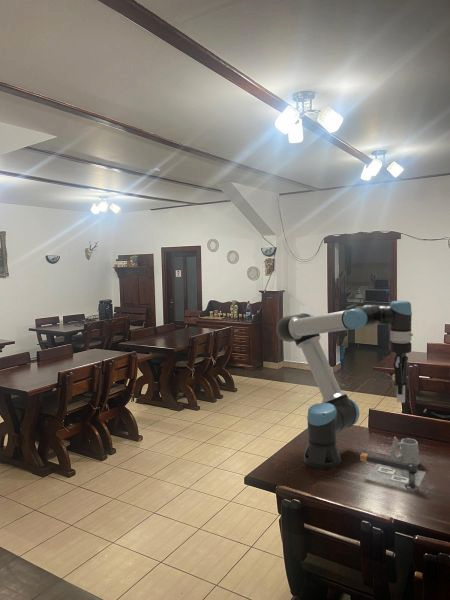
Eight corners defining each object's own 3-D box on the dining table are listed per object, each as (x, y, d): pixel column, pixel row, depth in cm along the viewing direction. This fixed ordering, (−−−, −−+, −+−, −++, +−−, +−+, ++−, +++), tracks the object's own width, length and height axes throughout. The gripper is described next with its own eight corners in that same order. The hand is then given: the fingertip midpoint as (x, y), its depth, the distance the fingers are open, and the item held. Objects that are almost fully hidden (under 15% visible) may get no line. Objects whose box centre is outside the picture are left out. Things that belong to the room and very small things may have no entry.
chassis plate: (366, 480, 172) (366, 478, 172) (378, 463, 186) (378, 461, 186) (416, 493, 162) (416, 491, 162) (425, 474, 176) (425, 472, 176)
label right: (390, 480, 170) (390, 478, 170) (393, 475, 173) (393, 474, 173) (407, 484, 167) (407, 482, 167) (409, 479, 170) (409, 478, 170)
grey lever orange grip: (418, 470, 164) (418, 464, 164) (416, 474, 161) (416, 468, 161) (363, 457, 176) (362, 452, 176) (359, 461, 173) (359, 455, 173)
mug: (423, 468, 181) (423, 439, 180) (394, 470, 180) (394, 441, 179) (413, 460, 188) (413, 431, 187) (386, 461, 187) (386, 433, 186)
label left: (377, 471, 177) (377, 470, 177) (380, 467, 181) (380, 466, 180) (393, 475, 174) (393, 474, 174) (395, 471, 177) (395, 469, 177)
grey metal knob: (403, 490, 164) (403, 473, 163) (406, 484, 168) (406, 467, 167) (417, 494, 161) (417, 476, 161) (420, 488, 165) (420, 470, 165)
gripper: (407, 345, 166) (407, 408, 168) (415, 339, 176) (414, 398, 178) (386, 343, 170) (386, 405, 172) (395, 338, 181) (395, 396, 183)
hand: (400, 401), depth 175 cm, fingers closed
